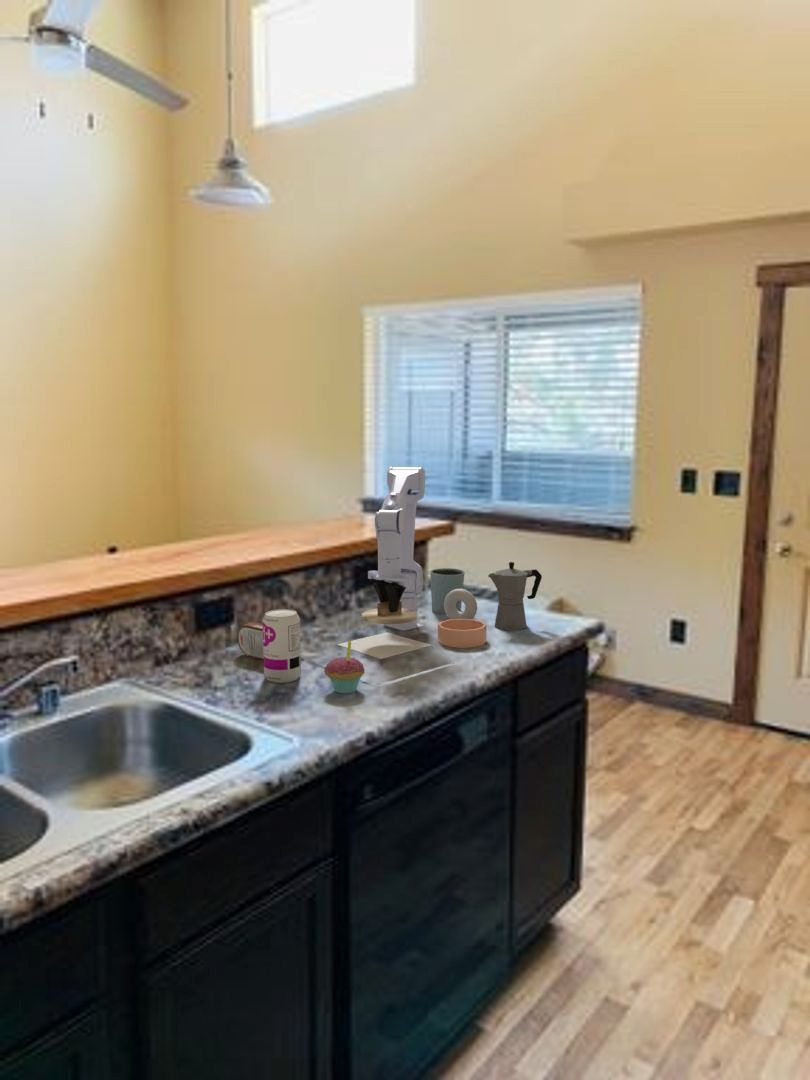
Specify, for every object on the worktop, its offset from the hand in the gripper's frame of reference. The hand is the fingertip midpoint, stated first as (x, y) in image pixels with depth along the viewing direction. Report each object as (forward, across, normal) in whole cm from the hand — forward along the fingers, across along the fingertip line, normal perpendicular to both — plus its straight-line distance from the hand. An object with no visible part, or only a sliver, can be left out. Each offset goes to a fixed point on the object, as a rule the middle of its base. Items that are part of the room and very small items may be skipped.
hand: (389, 610), depth 216 cm
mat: (+9, -1, -1) cm, 10 cm away
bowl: (+10, +10, +16) cm, 21 cm away
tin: (+10, -14, -29) cm, 34 cm away
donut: (+10, -4, +30) cm, 31 cm away
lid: (+2, 0, 0) cm, 2 cm away
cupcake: (+10, +18, -29) cm, 36 cm away
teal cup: (+10, -17, +38) cm, 42 cm away
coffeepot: (+10, +8, +39) cm, 41 cm away
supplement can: (+10, +2, -34) cm, 36 cm away
